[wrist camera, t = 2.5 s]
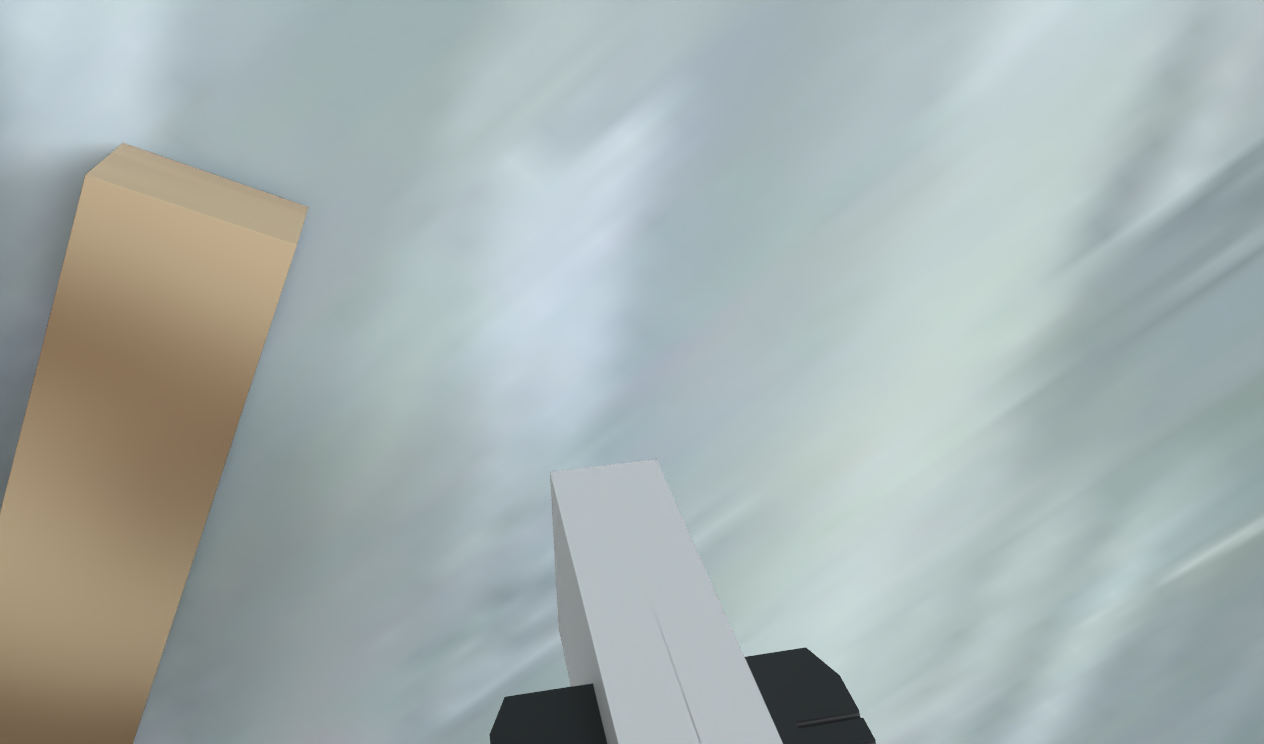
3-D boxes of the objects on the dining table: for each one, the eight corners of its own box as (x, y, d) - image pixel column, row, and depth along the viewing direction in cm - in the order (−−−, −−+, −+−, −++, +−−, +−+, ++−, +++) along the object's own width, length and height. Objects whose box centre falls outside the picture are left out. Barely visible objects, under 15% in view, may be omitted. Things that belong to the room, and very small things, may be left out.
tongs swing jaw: (32, 1047, 24) (-1, 1147, 22) (-112, 1039, 23) (-159, 1144, 21) (308, 206, 17) (297, 244, 15) (123, 143, 16) (86, 174, 14)
